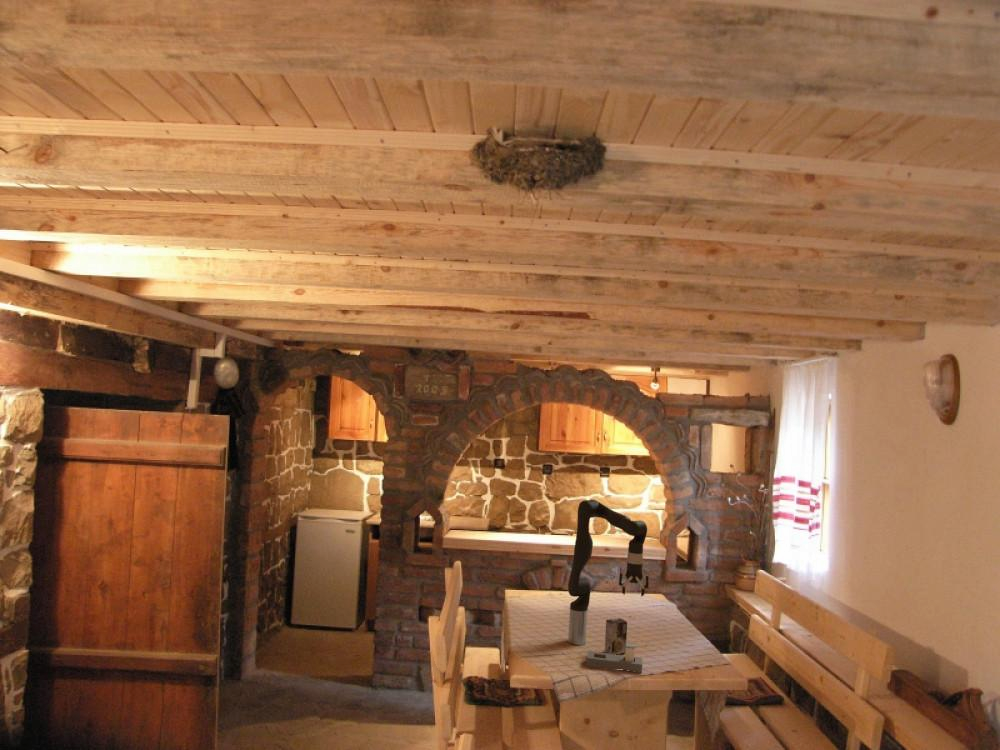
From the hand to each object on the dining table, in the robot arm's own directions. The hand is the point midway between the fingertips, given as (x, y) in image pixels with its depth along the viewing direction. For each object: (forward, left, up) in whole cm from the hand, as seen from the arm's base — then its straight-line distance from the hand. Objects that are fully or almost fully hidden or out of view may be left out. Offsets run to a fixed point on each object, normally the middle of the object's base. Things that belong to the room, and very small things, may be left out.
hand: (632, 595), depth 370 cm
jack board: (+6, -7, -33) cm, 34 cm away
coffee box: (-15, -7, -33) cm, 37 cm away
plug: (+6, 0, -33) cm, 34 cm away
